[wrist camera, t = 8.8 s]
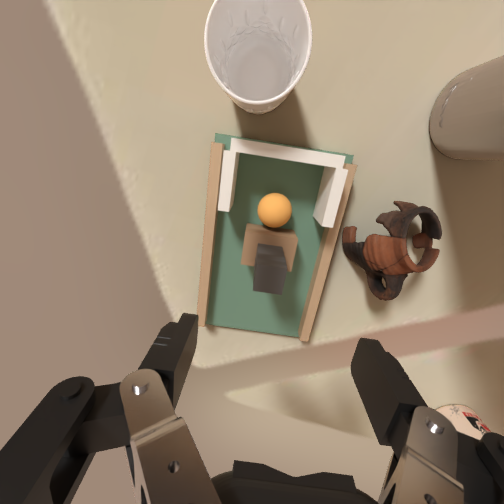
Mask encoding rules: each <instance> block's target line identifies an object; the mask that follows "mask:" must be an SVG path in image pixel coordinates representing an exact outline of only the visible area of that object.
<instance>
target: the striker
mask: <svg viewBox="0 0 504 504" xmlns="http://www.w3.org/2000/svg"><path fill="white" fill-rule="evenodd" d="M297 243H298V238H297V236H296V234H295V231H294V230H290V229H284V228H277V227H276V228H273V227H268V226H264V225H258V224H251V223H247V225H246V230H245V237H244V244H243V251H242V258H241V264H242V265H248V266H254V278H253V291H257V292H264V293H271V294H278V295H282V292H283V287H284V283H285V278H286V274H287V271H289V272H291V270H292V266H293V261H294V257H295V252H296V248H297Z"/></svg>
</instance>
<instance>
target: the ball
mask: <svg viewBox="0 0 504 504" xmlns="http://www.w3.org/2000/svg"><path fill="white" fill-rule="evenodd" d="M257 211H258V216H259V219H260V220H261V222H262V223H263V224H265V225H266V226H268V227H273V228H276V227H281V226H283V225H284V224H286V223H287V222H288V220H289V219H290V217H291V214H292V206H291V203H290V201H289V200H288V198H287V197H285V196H284V195H282V194H279V193H270V194H268V195H266V196H264V197H263V198H262V199H261V201H260V202H259V205H258V210H257Z"/></svg>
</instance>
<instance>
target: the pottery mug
mask: <svg viewBox="0 0 504 504" xmlns="http://www.w3.org/2000/svg"><path fill="white" fill-rule="evenodd" d="M393 203H394V204H395V205H396V206H398V207H399V209H400V211H391V212H388V213H382V214H380V215H379V217H378V218H377V219H376V222H377V223H380V224H383V226H384V227H385V228H386V229H387V230H388V231H389V233H390V235H391V236H390V237H389V236H382V235H377V234H372V235H369V236H368V237H367V238H366V241H365V242H359V243H357V242H355V237H356V230H357V228H356V227H355V226H351V227H345V228H344V230H343V236H342V242H343V248H344V252H345V253H346V255H347V257H348V258H349V259H350V260H352V261H353V262H355V263H356V264H357V265H359V266H360V267H361V268H363V269H364V270H365V272H366V274H367V280H368V285H369V288H370V290H371V292H372V293H373V294H374V295H375V296H376V297H378V298H379V299H380V300H382V299H383V300H392V299H394V298H396V297H397V296H398V295H399V293H400V291H401V289H402V285H403V281H404V280H405V278H406V277H407V276H408V273H413V272H424V271H426V270H427V269H429V268H430V267H431V266H432V265H433V264H434V262H435V261H436V259H437V257H438V255H439V251H440V250H439V249H433V248H432V243H433V238H434V239H438V240H439V239H441V236H442V229H441V225H440V221H439V219H438V217H437V215H436V214H435V213H434V212H433V211H432V210H431V209H430V208H428V207H425V206H421V207H418V206H416V205H415V204H413V203H407V202H402V201H394V202H393ZM418 214H419V216H420V218H421V220H422V230H421V233H418V234H416V235H414V236H413V245H414V247H415V248H425V251H424V254H423V256H422V259H421V260H420V262H419V263H418V264H417V265H416V264H415V263H413V261H412V260H411V259H410V257H409V255H408V251H407V245H406V236H407V232H408V228H409V225H410V223H411V222H412V220H413V219H414V217H416V216H417V215H418ZM382 277H383V278H384V280H385V282H386V288H385V287H384V286H383V284H382Z"/></svg>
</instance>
